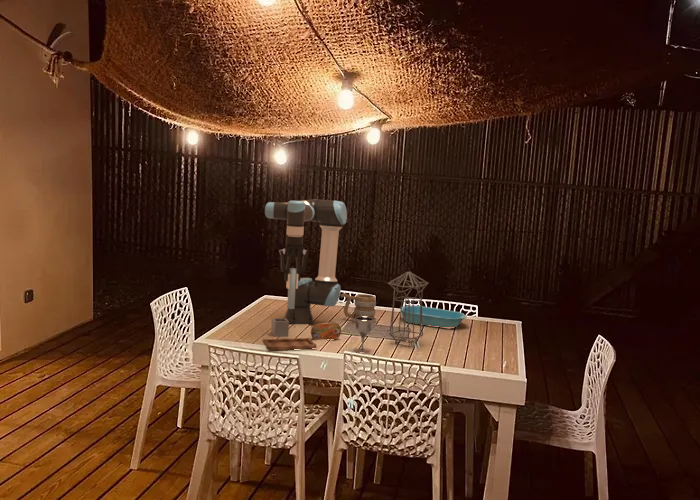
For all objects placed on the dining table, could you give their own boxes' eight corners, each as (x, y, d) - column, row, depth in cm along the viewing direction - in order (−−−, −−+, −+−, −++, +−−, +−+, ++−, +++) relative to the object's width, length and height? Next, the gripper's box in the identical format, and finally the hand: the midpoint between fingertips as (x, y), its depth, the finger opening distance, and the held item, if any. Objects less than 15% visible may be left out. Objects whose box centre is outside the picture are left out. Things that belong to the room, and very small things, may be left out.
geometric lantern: (413, 350, 305) (416, 275, 301) (383, 344, 313) (386, 271, 309) (427, 343, 318) (431, 271, 314) (398, 338, 327) (401, 268, 322)
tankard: (375, 319, 363) (377, 292, 362) (375, 324, 351) (377, 297, 349) (339, 317, 364) (341, 290, 362) (338, 322, 351) (339, 294, 350)
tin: (312, 342, 309) (313, 324, 308) (309, 340, 311) (310, 322, 310) (340, 340, 316) (342, 322, 315) (338, 338, 318) (339, 321, 317)
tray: (308, 342, 308) (308, 338, 307) (316, 349, 296) (316, 345, 296) (262, 343, 300) (262, 339, 300) (269, 351, 288) (269, 347, 288)
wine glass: (352, 348, 302) (354, 316, 300) (369, 348, 303) (372, 316, 301) (354, 353, 294) (356, 320, 293) (371, 353, 295) (374, 320, 293)
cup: (284, 334, 319) (285, 318, 318) (288, 338, 313) (288, 321, 312) (271, 334, 317) (271, 318, 316) (274, 338, 311) (275, 321, 310)
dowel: (293, 307, 298) (295, 268, 296) (295, 308, 295) (297, 269, 293) (286, 307, 297) (288, 267, 295) (288, 309, 294) (290, 269, 292)
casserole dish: (469, 325, 366) (470, 312, 365) (460, 333, 345) (461, 319, 344) (406, 315, 380) (407, 303, 379) (393, 322, 359) (394, 310, 358)
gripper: (309, 235, 299) (307, 286, 301) (274, 234, 293) (272, 286, 296) (314, 237, 292) (311, 289, 294) (278, 236, 286) (276, 289, 289)
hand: (291, 287), depth 295 cm, fingers closed on dowel, 3 cm apart
